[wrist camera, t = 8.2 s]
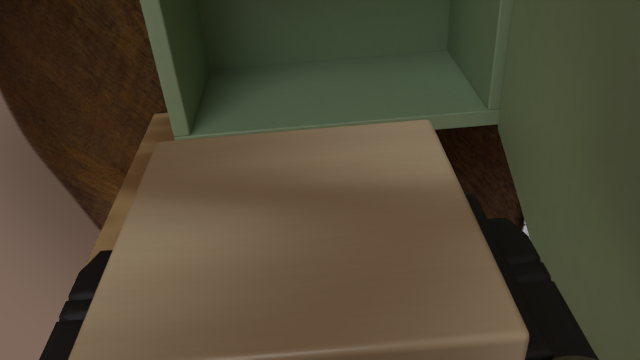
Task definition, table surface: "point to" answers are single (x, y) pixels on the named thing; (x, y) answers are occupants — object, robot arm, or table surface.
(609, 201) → the lid
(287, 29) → the chest
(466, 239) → the block
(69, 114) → the table surface
